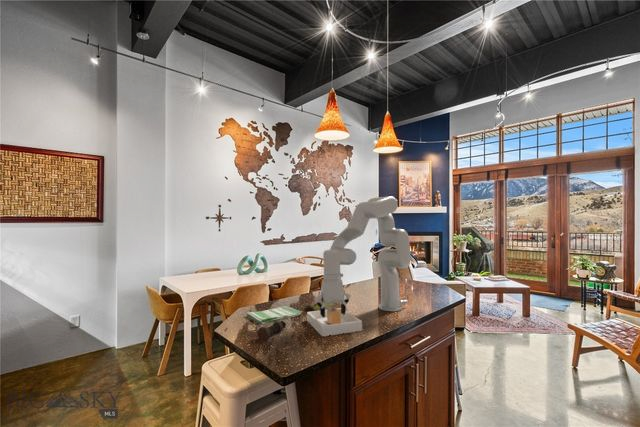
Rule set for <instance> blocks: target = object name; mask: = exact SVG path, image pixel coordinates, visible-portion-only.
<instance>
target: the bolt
mask: <svg viewBox="0 0 640 427" xmlns="http://www.w3.org/2000/svg"><path fill="white" fill-rule="evenodd" d="M286 327H287V322H285V321H284V320H278V321H274V322H273V324H272V325H270V326H266V327H265V326H260V327H259V328H258V330H257V332H256V334H257V338H258V340H259V341H263V342H267V341H268V340H269V338H270V337H271V335H274V334H276V333H277V334H281V332H282V331H283V330H284V329H285V328H286Z"/></svg>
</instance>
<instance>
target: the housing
mask: <svg viewBox="0 0 640 427" xmlns="http://www.w3.org/2000/svg"><path fill="white" fill-rule="evenodd" d="M336 309H338V310H339V311H340V316H341V323H339V324H332V325H330V324H329V323H328V322H327V310H325V317H324V318H323V317H322V316H321V314H320V311H314V310H312V311H307V312H306V321H307V322H308V323H309V325H311V326H312V327H313V328H314V329H315V331H316V332H317V333H318V334H319V335H320V336H321V337H323V336H324V337H328V336H329V335H331V336H336V335H342V334H343V333H344V334H349V333H354V332H356V331H357V332H362V331H363V320H361V319H360V318H358V317H356V316H354V314H351V313H350V312H348V311H347V310H346V312H345V315H343V314H342V313H341V307H338V308H337V307H336ZM324 337H323V338H324ZM329 337H330V336H329Z"/></svg>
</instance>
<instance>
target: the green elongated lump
mask: <svg viewBox="0 0 640 427" xmlns="http://www.w3.org/2000/svg"><path fill="white" fill-rule="evenodd" d="M321 302H322V301H321V299H319V303H321ZM332 306H335V305H333V304H332V303H330V304H326V305H325V306H324V308H325V310H327V309H329V308H332ZM309 307H310V308H311V309H312V311H320V307H319V306H318V305H317V304H316V302H315V300H314V298H312V299H311V300H310V301H308V303H307V304H306V305H305V308H306V309H308V308H309ZM335 308H337V307H336V306H335Z"/></svg>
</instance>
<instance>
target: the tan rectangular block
mask: <svg viewBox="0 0 640 427" xmlns="http://www.w3.org/2000/svg"><path fill="white" fill-rule="evenodd" d="M335 307H336V306H335V305H334V306H332V308H329V309H327V322H328V323H329V324H330V325H332V324H339V323H341V316H340V311H339V310H338V309H336V308H337V307H336V308H335Z"/></svg>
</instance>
